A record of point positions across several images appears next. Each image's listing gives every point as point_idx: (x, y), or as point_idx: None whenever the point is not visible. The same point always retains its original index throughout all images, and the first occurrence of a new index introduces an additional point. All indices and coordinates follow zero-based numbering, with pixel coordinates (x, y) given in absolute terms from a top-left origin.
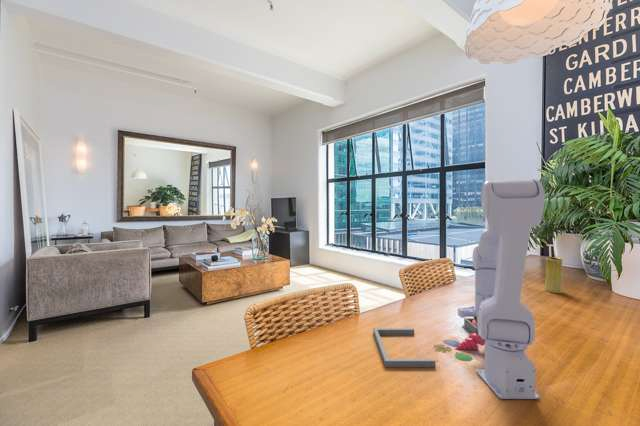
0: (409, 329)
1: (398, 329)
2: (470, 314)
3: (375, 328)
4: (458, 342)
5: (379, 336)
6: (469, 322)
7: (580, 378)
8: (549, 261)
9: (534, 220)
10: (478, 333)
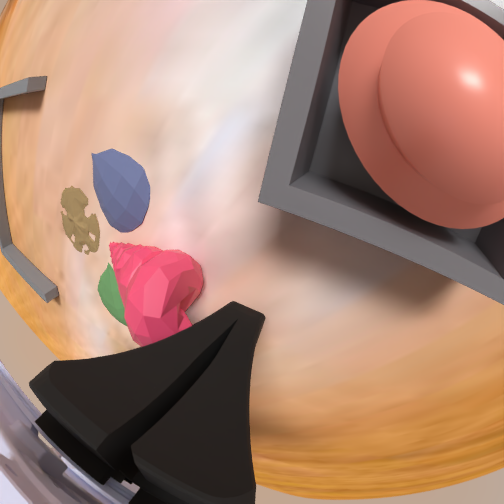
0: (20, 92)
1: (7, 95)
2: (11, 400)
3: None
4: (140, 200)
5: None
6: (300, 37)
7: (368, 476)
8: None
9: None
10: (51, 448)
